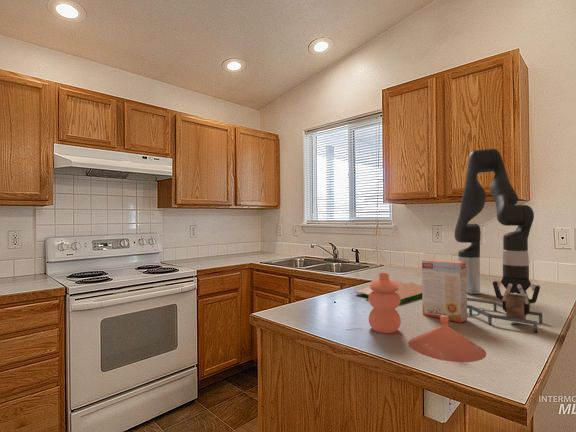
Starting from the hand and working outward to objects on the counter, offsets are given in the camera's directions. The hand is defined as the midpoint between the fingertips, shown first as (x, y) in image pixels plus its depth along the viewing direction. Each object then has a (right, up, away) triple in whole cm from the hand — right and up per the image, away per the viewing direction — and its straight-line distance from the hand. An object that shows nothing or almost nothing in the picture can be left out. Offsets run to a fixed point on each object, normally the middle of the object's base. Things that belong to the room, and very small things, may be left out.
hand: (516, 312), depth 119 cm
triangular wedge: (-29, -5, +42) cm, 51 cm away
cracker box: (-21, -4, +8) cm, 23 cm away
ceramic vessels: (-39, -4, -16) cm, 42 cm away
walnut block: (0, -2, 0) cm, 2 cm away
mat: (-8, -4, +18) cm, 20 cm away
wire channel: (-4, -4, +9) cm, 10 cm away
